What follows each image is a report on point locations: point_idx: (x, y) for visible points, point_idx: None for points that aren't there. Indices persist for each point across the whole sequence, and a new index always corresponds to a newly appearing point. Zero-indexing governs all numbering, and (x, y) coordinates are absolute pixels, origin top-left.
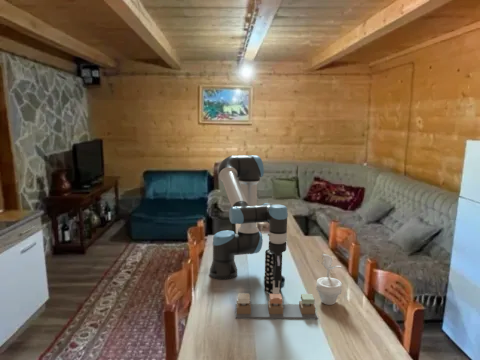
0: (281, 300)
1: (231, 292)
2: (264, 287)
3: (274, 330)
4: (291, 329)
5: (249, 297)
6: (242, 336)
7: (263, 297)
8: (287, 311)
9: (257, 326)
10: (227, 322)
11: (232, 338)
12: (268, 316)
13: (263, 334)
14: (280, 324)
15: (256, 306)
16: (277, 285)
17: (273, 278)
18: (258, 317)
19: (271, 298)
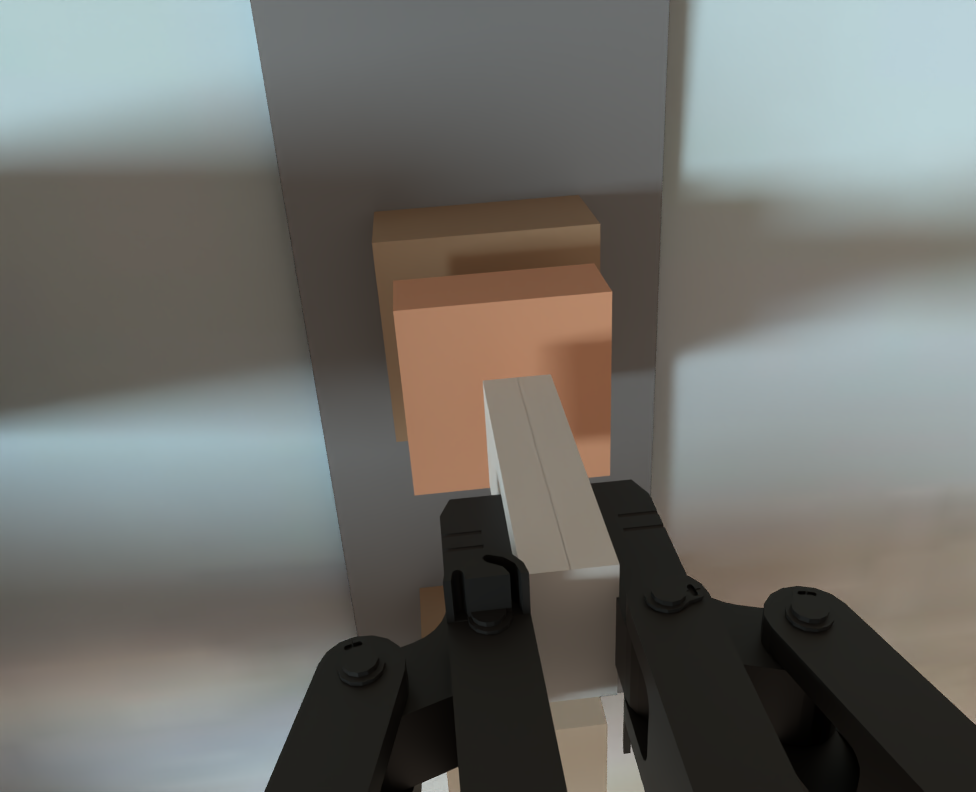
0: (607, 295)
1: (64, 775)
2: None
3: (901, 305)
4: (916, 89)
5: (561, 730)
6: (947, 591)
7: (83, 444)
8: (502, 121)
9: (798, 480)
10: None
11: (960, 658)
12: (641, 384)
13: (954, 417)
14: (784, 230)
15: (402, 525)
16: (653, 528)
17: (628, 723)
18: (649, 488)
19: (585, 463)
